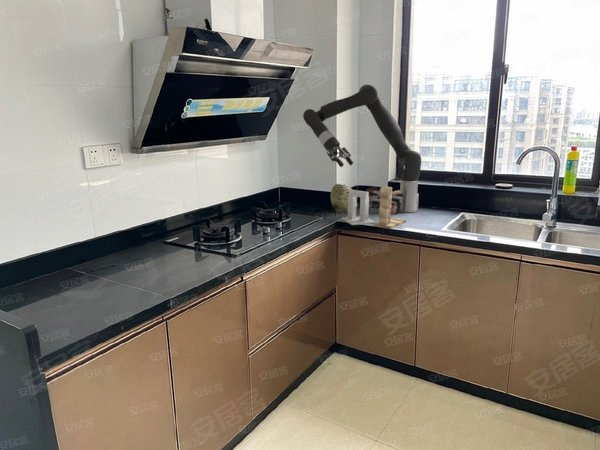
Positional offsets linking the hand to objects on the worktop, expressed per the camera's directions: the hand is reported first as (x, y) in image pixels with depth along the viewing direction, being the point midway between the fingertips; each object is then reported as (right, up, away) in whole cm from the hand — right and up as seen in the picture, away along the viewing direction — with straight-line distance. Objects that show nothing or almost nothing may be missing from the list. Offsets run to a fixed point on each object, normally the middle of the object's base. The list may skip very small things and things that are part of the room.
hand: (347, 165), depth 224 cm
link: (+5, -28, +2) cm, 28 cm away
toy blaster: (+20, -24, +18) cm, 36 cm away
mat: (+6, -28, +2) cm, 29 cm away
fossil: (+1, -22, +28) cm, 35 cm away
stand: (+21, -30, -4) cm, 36 cm away
